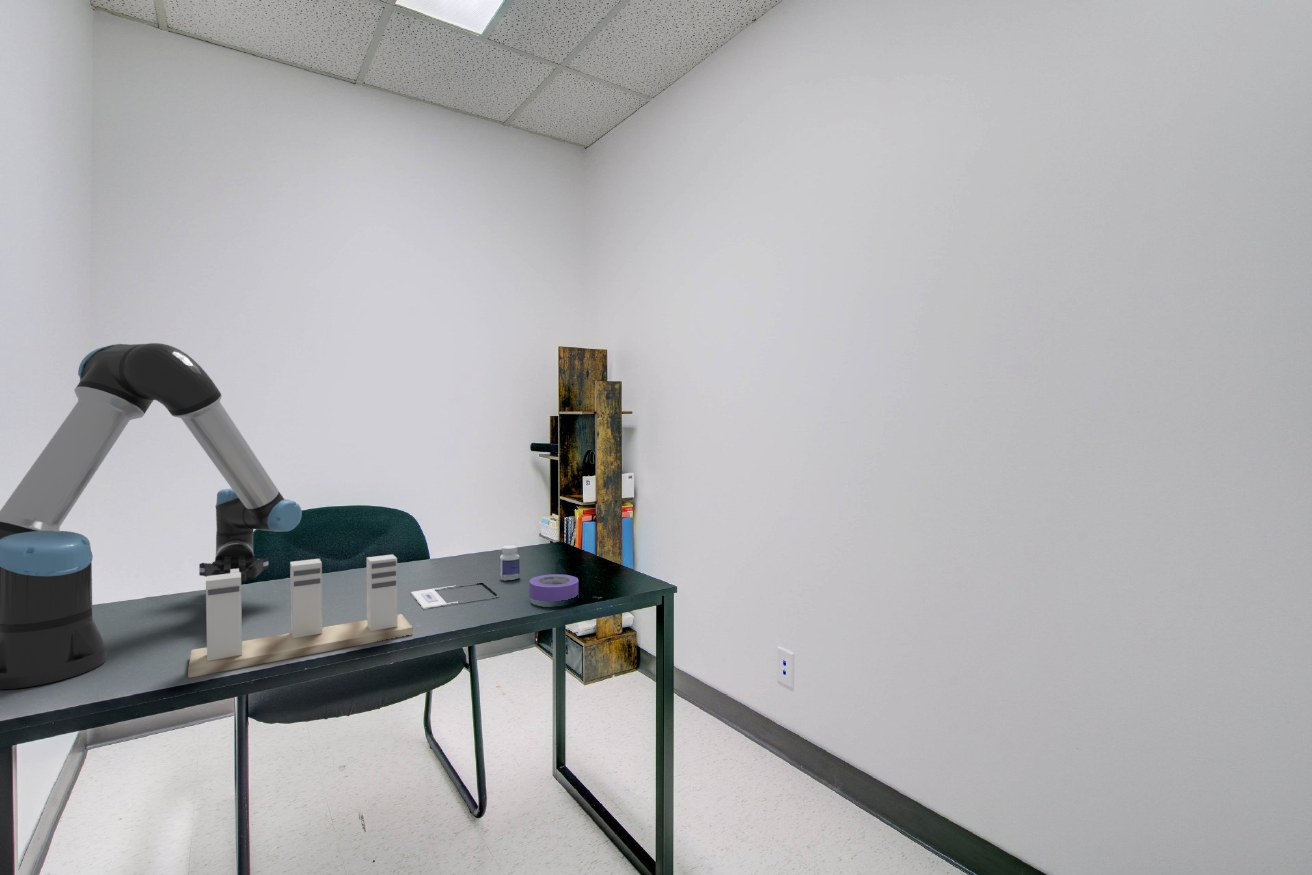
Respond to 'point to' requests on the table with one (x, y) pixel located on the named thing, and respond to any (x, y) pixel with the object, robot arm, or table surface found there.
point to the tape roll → (553, 587)
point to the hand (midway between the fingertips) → (234, 581)
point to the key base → (295, 646)
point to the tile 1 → (223, 616)
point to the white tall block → (306, 597)
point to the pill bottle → (509, 562)
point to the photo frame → (429, 598)
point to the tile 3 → (381, 592)
